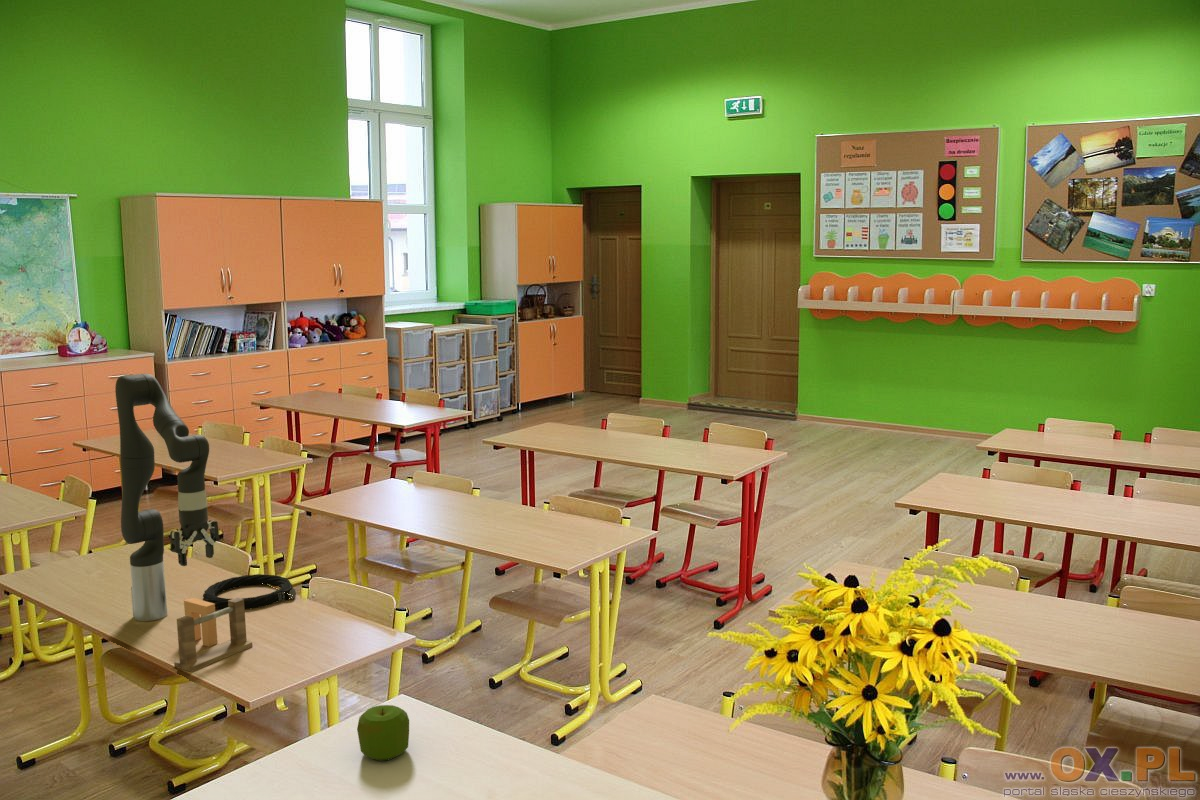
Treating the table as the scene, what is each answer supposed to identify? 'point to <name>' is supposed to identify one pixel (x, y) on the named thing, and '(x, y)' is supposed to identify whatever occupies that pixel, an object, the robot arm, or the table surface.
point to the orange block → (209, 627)
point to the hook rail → (215, 653)
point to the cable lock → (246, 581)
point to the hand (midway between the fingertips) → (196, 561)
